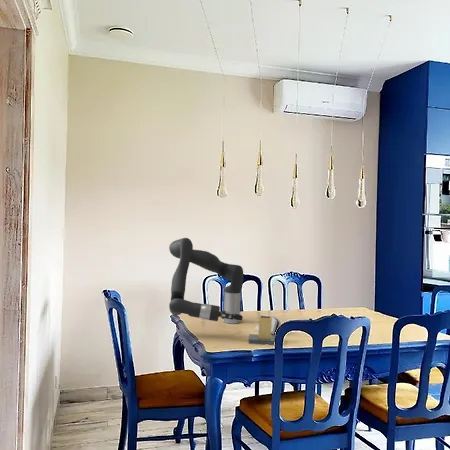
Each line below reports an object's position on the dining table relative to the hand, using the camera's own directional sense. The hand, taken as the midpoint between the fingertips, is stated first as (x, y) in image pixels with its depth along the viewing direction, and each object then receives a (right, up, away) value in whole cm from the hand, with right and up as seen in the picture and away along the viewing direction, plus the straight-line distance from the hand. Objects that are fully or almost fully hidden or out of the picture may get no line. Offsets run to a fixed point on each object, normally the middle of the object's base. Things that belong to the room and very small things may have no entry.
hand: (241, 317), depth 234 cm
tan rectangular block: (+11, -9, -3) cm, 15 cm away
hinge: (+15, -12, +19) cm, 26 cm away
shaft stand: (+11, -11, -3) cm, 16 cm away
